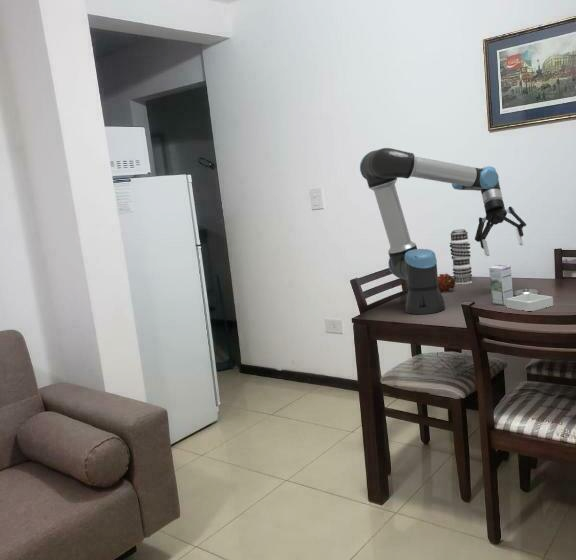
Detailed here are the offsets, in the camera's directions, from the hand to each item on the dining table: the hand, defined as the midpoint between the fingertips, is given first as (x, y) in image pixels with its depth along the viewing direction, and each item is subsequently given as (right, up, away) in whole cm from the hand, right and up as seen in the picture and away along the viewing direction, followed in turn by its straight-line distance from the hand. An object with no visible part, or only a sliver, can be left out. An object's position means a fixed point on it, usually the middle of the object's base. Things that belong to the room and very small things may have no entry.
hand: (503, 250), depth 221 cm
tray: (+2, -22, -19) cm, 29 cm away
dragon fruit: (-16, -17, +29) cm, 37 cm away
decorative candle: (-3, -13, +41) cm, 44 cm away
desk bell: (+7, -19, -4) cm, 20 cm away
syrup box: (-4, -21, -8) cm, 23 cm away
